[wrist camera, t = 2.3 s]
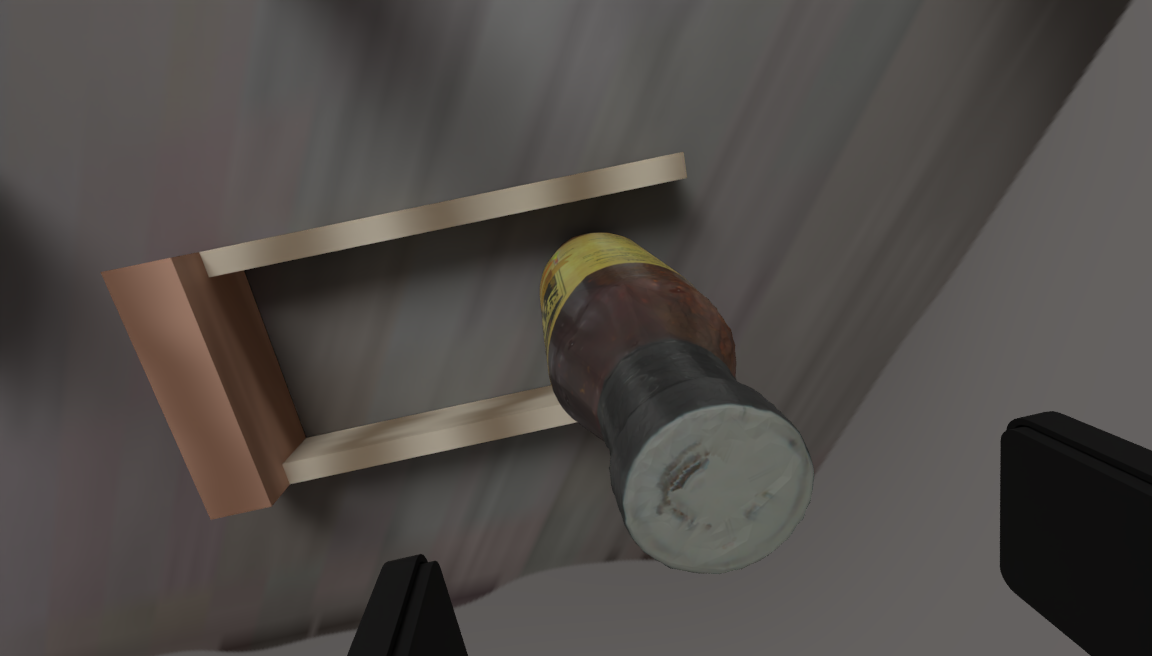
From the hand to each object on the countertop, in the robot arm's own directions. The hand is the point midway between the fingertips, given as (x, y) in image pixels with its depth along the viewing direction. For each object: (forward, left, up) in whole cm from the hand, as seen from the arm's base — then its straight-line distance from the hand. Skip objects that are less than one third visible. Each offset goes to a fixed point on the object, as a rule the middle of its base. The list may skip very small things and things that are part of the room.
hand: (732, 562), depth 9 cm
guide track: (+8, 0, -22) cm, 23 cm away
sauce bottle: (0, 0, -22) cm, 22 cm away
